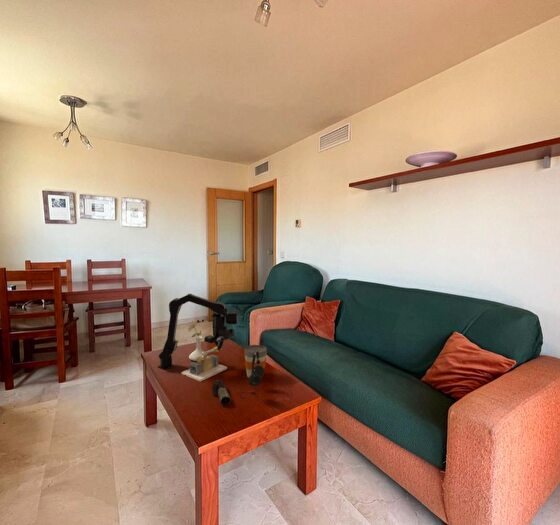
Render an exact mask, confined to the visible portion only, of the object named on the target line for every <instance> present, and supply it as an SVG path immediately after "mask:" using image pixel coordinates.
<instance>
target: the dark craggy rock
mask: <svg viewBox="0 0 560 525" xmlns="http://www.w3.org/2000/svg"><path fill="white" fill-rule="evenodd" d="M211 393H212V395H213V396H218V398H219V401H220V402H219V403H220V405H222V406H227V405H230V404H231V402H232V399H231V396H230V395H229V392H228V390H227V387H226V383H225V381H224V380H223V379H216V380H215V381H213V383H212V385H211Z"/></svg>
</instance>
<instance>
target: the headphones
mask: <svg viewBox="0 0 560 525" xmlns="http://www.w3.org/2000/svg"><path fill="white" fill-rule="evenodd" d="M256 355H257V362H256V364H260V356H259V351H254V353H253V358H252V371H251V375H250V376H249V377H248V383H249V385H250V386H251V387H254V388H256V387H257V388H258V386H260V384H261V383H262V378H263V376H264V374H265V368H263V367H262V366H261V365H256V366H255V367H254V362H255V358H256ZM257 391H258V390H257V389H255V391H253V392H250V394H251V393H252V394H253V395H255V392H257ZM242 394H244V395H246V392H240V395H239V396H240V398H241V399H247V397H245V398H244V397H241V395H242ZM252 394H251V395H252Z"/></svg>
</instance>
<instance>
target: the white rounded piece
mask: <svg viewBox="0 0 560 525" xmlns="http://www.w3.org/2000/svg"><path fill="white" fill-rule="evenodd" d="M197 324H198V320H197V319H196V320H194V321H192V322H191V324H190V325H189V327H188V328H187V331H188V332H191V331H192V330H195V333H194V334H192V335H191V338H194V340H195V342H196V348H195V350H194V351H192V353H190V354H189V356H188V358H189V360H190V361H192V362H194V361H195V362H197V358H198V357H200V356H202V352H204V351H205V350H203V349H202V348H201V345H202V344H201V343H202V340H203V339H204V337H203V336H201V335H202V330H199V331H198V332H197V330H196V325H197ZM207 356H209V355H208V354H207Z"/></svg>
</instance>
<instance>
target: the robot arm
mask: <svg viewBox="0 0 560 525" xmlns="http://www.w3.org/2000/svg"><path fill="white" fill-rule="evenodd" d="M188 302H190V303H192V304H195V305H198V306H201V307H204V308H207V309H209V310H210V311H212V312H213V314H212V315H211V316H210V317H211V318H214V325H213V326H212V328H213V329H214V332H212V333H213V335H210V334H209V335H205V336H204V337H203V339H204V342H206V343H209V344H215V347H217V349H218V352H220V351H222V347H223V345H224V342H226V341H228V340H229V339H232V338H233V337H234V336H235V335H234V334H235V330H234V329H233V328H229V329H228V327H227V325H238V322H239V317H238V312H229V310H228V309H227V308H226V303H224V302H223V301H216V300H215V301H214V300H209V299H206V298H203V297H200V296H198V295H195V294H193V293H188V294H186V295H183V296H182V297H180V298H178V297H176V298H174V299H172V300H171V301H170V302H169V303H168V311H169V314H170V316H169V321H168V322H169V323H168V329H167V330H168V331H167V337H166V340H165V342H164V346H163V349H162V351H161V352H160V353H159V355H158V357H159V360H160V362H159V365H158V366H157V368H159V367H160V369H162V368H163V369H162V370H167V368H168V369H169V367H170V368H172V366H173V367H174V366H175V364H173V356H172V355H173V353H174V352H175V351H176V349H177V348H178V343H179V340H176V335H177V334H176V333H177V326H178V319H179V314H180V311H181V308H182V306H183V305H185V304H186V303H188ZM225 324H227V325H225Z"/></svg>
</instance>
